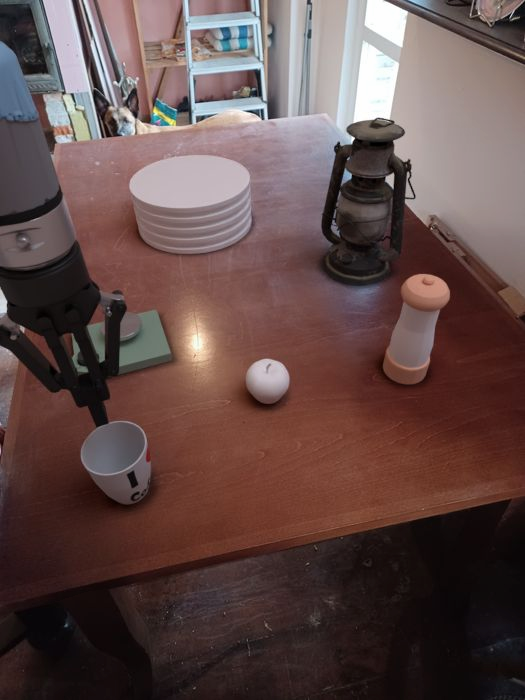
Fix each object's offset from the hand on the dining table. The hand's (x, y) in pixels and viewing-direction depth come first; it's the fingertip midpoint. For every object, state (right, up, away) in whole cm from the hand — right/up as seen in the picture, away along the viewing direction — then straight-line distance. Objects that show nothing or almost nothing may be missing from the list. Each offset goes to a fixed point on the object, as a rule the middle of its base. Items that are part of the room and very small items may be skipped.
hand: (101, 417), depth 58 cm
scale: (-6, +8, +29) cm, 31 cm away
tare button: (-10, +6, +23) cm, 25 cm away
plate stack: (+3, +40, +61) cm, 73 cm away
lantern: (+41, +28, +48) cm, 69 cm away
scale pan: (-8, +12, +28) cm, 32 cm away
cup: (+1, -11, +9) cm, 15 cm away
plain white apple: (+21, +1, +21) cm, 29 cm away
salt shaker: (+44, +5, +25) cm, 51 cm away
